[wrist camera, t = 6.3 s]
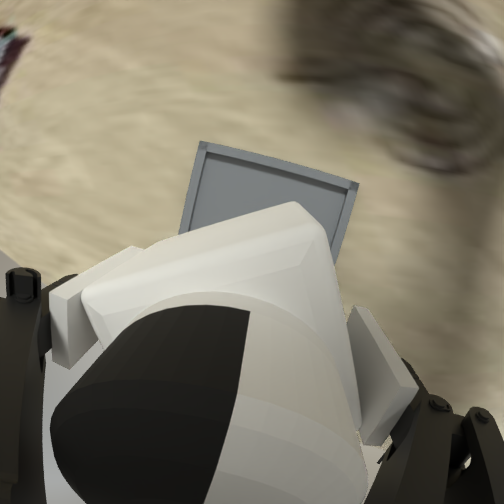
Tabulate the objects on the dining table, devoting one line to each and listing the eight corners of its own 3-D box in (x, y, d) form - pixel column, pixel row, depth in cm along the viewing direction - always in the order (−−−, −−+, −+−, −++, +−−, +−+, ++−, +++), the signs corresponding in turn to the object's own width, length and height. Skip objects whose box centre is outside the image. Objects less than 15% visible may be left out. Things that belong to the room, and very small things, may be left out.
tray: (203, 141, 26) (200, 140, 24) (355, 182, 26) (359, 183, 24) (170, 296, 29) (166, 300, 28) (307, 332, 29) (308, 338, 28)
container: (202, 365, 18) (133, 566, 5) (154, 241, 16) (-48, 378, 3) (332, 335, 17) (398, 555, 4) (298, 198, 15) (416, 299, 3)
